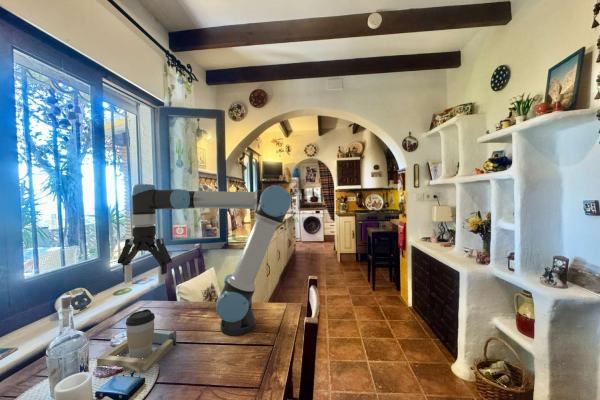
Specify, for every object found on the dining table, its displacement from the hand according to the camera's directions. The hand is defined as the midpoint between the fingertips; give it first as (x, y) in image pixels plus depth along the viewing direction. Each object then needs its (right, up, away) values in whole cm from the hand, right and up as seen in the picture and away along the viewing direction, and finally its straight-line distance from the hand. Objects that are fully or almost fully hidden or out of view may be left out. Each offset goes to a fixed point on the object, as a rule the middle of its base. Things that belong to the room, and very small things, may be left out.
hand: (145, 282), depth 93 cm
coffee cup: (0, -26, -3) cm, 26 cm away
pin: (+9, -25, +4) cm, 27 cm away
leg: (+1, -25, +5) cm, 26 cm away
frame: (0, -25, -3) cm, 25 cm away
